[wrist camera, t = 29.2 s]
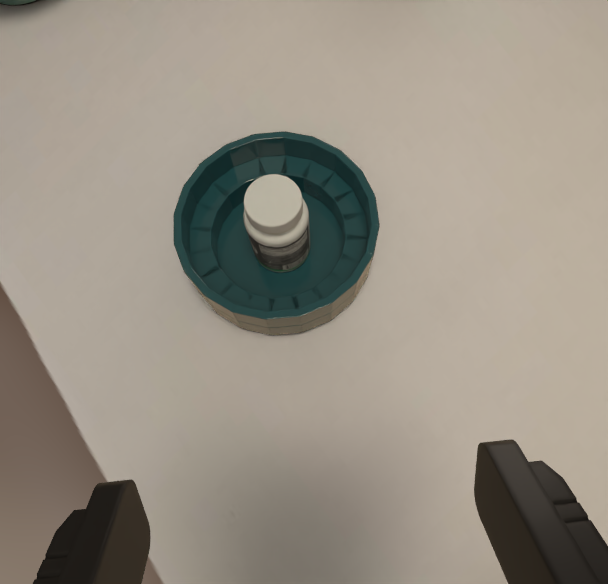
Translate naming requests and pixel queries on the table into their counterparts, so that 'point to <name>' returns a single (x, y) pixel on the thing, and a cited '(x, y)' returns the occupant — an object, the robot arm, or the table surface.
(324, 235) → the bowl
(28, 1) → the flower pot
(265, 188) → the pill bottle
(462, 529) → the table surface
